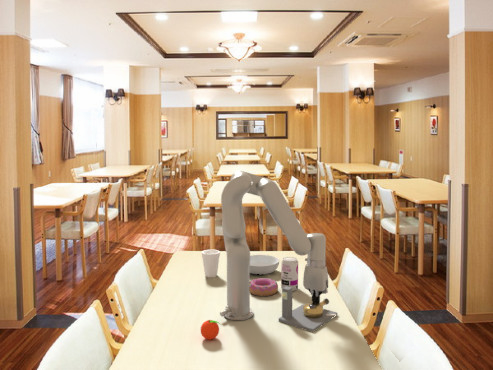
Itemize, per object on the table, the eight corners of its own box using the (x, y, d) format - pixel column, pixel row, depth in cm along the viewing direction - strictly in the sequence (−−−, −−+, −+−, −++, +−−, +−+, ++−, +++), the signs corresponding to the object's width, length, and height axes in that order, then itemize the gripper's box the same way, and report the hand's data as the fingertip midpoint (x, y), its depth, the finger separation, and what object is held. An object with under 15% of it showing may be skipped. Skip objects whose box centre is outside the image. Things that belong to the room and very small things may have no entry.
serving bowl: (235, 269, 250) (234, 257, 249) (268, 264, 258) (268, 252, 258) (251, 280, 231) (251, 267, 230) (286, 275, 240) (286, 262, 239)
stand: (314, 332, 171) (315, 299, 170) (278, 321, 182) (278, 289, 180) (339, 315, 187) (340, 285, 185) (304, 306, 197) (304, 277, 196)
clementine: (222, 334, 170) (222, 316, 170) (221, 342, 164) (221, 324, 163) (201, 334, 170) (200, 316, 169) (200, 343, 163) (199, 324, 162)
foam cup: (199, 274, 241) (199, 250, 240) (216, 271, 245) (215, 248, 244) (205, 279, 233) (205, 255, 231) (222, 276, 237) (222, 253, 235)
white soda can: (297, 286, 222) (298, 256, 220) (298, 292, 214) (298, 261, 212) (281, 285, 223) (281, 256, 221) (281, 291, 215) (281, 261, 213)
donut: (280, 288, 220) (280, 278, 219) (274, 298, 206) (274, 288, 206) (252, 285, 224) (252, 276, 223) (244, 295, 210) (244, 285, 210)
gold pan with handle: (316, 319, 180) (316, 309, 179) (299, 314, 185) (299, 304, 184) (335, 307, 192) (335, 297, 192) (319, 302, 197) (319, 293, 197)
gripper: (296, 261, 191) (296, 302, 193) (327, 268, 182) (327, 311, 184) (305, 257, 197) (305, 297, 199) (336, 263, 188) (335, 305, 190)
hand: (315, 304), depth 192 cm, fingers closed
